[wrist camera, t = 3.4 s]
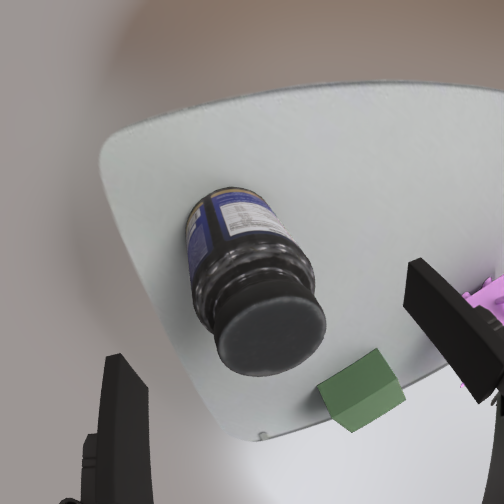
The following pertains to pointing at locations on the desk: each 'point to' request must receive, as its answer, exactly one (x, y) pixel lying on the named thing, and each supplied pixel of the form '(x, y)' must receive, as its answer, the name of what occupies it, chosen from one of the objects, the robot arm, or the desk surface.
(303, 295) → the pill bottle
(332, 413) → the block
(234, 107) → the desk surface
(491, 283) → the teapot
